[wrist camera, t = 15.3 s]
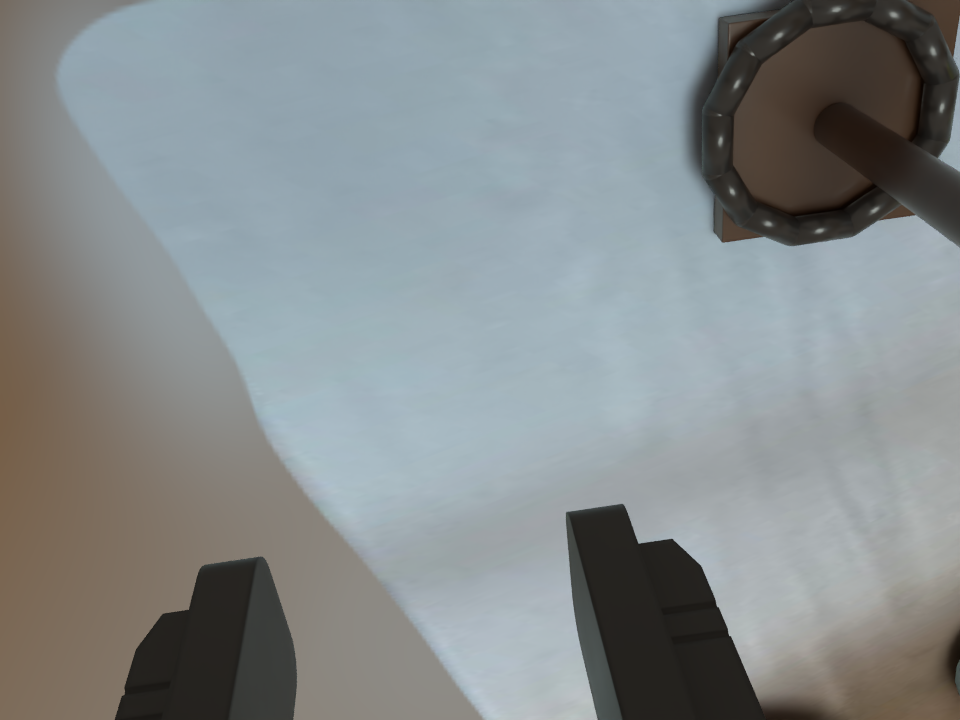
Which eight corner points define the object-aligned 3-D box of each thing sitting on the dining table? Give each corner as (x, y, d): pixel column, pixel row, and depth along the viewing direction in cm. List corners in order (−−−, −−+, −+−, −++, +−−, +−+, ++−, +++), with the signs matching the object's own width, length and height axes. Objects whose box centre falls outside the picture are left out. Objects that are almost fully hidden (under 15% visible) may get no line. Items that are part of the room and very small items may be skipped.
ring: (698, 252, 38) (706, 264, 37) (698, 7, 33) (708, 13, 32) (928, 217, 39) (942, 228, 38) (964, -33, 33) (982, -29, 32)
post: (713, 232, 39) (858, 415, 27) (718, 17, 35) (896, 123, 23) (915, 203, 39) (1149, 372, 27) (947, -15, 35) (1246, 73, 23)
